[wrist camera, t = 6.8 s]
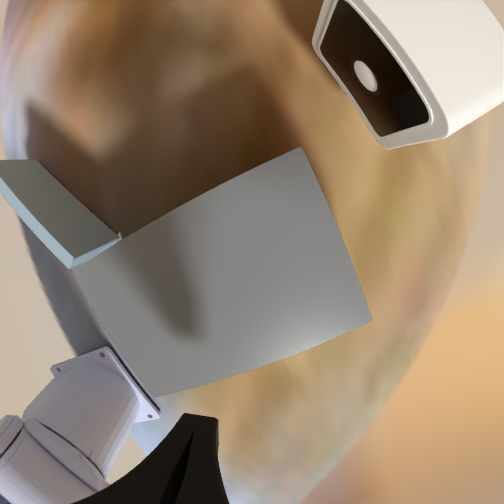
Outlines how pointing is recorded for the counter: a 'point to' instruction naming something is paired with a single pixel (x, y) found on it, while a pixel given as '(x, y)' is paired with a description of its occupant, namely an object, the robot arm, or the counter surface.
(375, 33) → the security camera
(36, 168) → the side door
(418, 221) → the counter surface
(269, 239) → the camera case
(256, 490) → the counter surface
